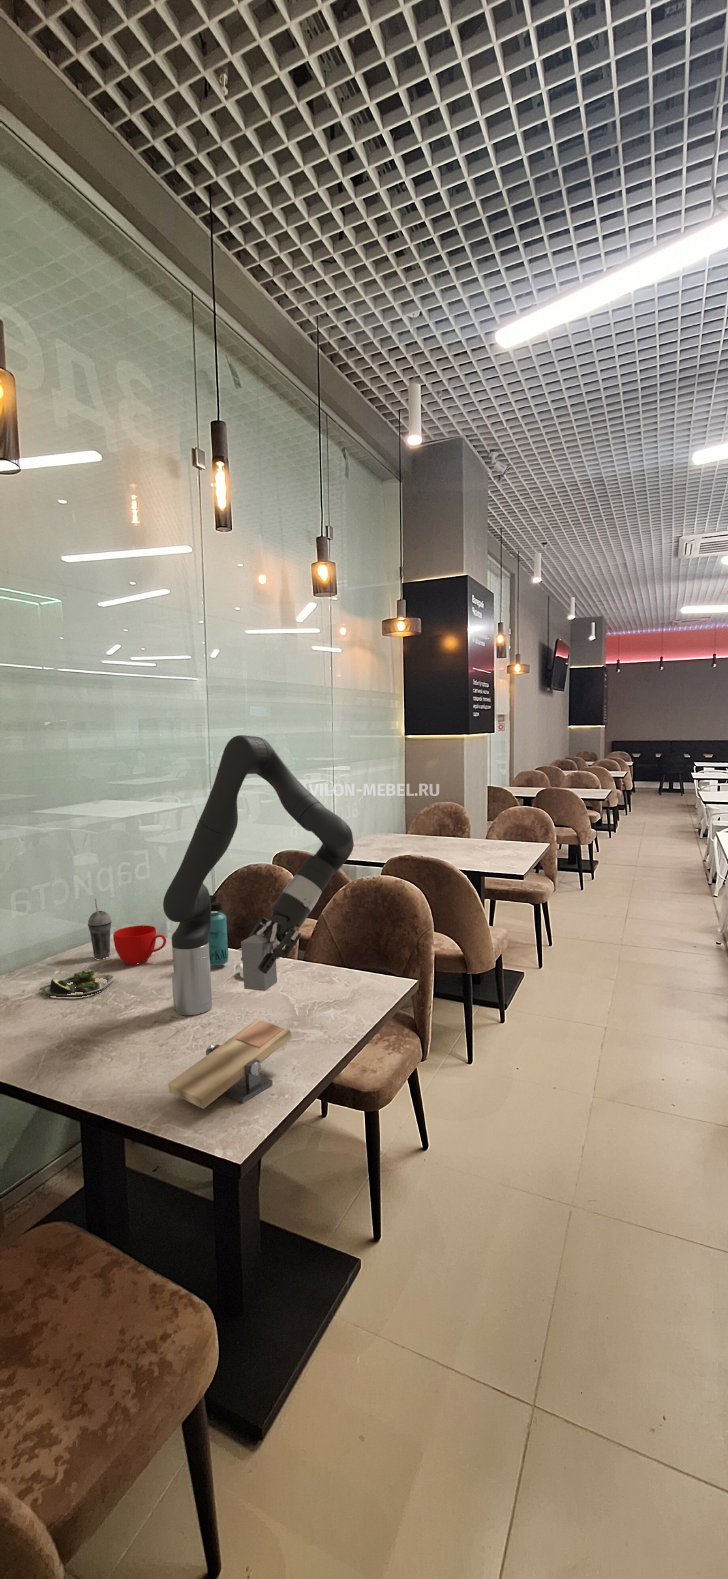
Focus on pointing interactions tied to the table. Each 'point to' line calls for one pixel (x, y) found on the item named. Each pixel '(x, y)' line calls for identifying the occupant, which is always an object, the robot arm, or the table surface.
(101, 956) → the beverage cup
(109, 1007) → the table surface
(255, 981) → the block
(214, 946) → the beverage bottle
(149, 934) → the ceramic cup
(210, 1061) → the seesaw plank
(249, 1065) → the seesaw stand
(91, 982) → the salad plate
